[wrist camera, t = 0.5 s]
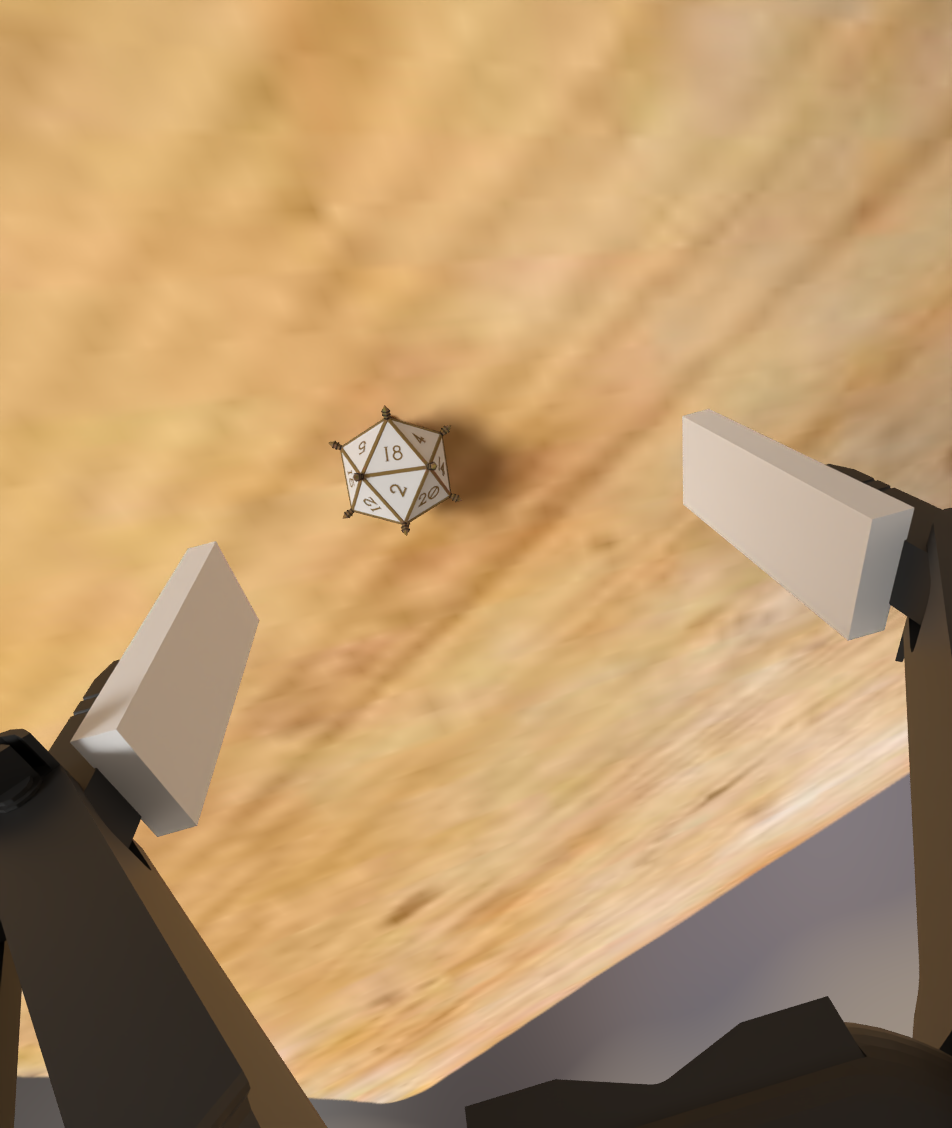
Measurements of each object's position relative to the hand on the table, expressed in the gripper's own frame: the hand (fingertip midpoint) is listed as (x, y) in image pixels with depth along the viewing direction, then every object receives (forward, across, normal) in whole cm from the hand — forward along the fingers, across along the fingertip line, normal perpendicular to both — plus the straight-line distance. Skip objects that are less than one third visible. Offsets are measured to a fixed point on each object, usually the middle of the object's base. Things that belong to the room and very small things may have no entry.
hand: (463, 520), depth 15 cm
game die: (+27, -3, -6) cm, 28 cm away
